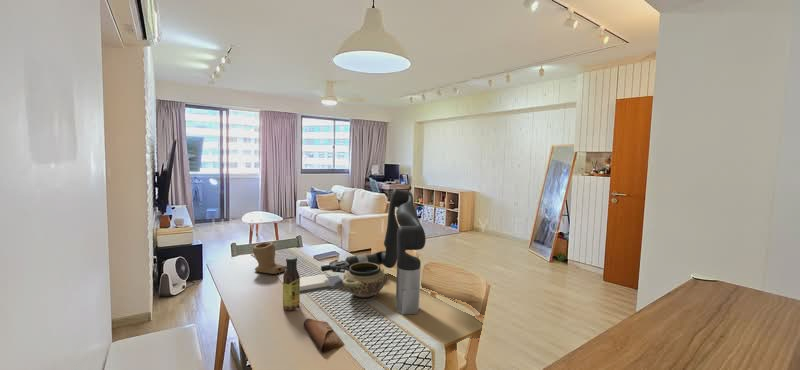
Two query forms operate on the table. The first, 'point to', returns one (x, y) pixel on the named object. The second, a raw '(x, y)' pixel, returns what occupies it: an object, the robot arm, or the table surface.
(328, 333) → the sunglasses case
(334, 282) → the mat
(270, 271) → the tan ankle boot
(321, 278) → the tile
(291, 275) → the sauce bottle
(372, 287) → the decorated ceramic pot
